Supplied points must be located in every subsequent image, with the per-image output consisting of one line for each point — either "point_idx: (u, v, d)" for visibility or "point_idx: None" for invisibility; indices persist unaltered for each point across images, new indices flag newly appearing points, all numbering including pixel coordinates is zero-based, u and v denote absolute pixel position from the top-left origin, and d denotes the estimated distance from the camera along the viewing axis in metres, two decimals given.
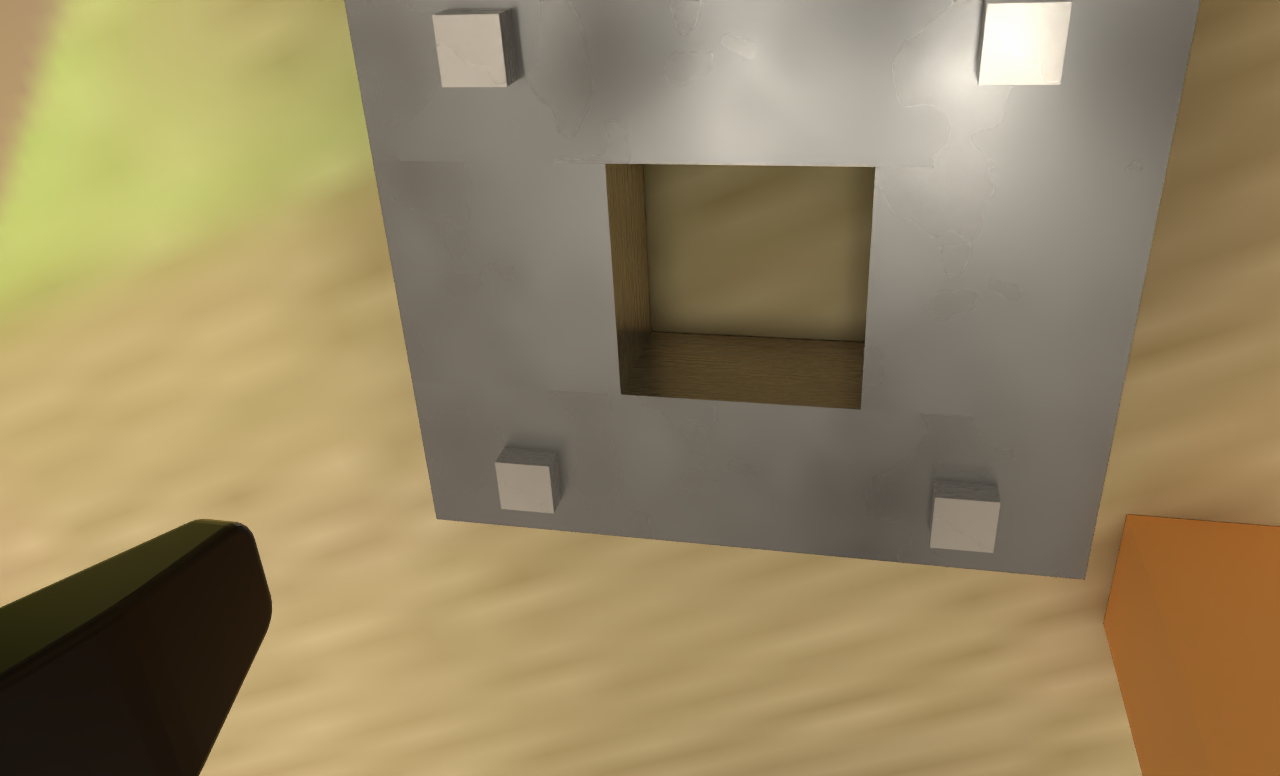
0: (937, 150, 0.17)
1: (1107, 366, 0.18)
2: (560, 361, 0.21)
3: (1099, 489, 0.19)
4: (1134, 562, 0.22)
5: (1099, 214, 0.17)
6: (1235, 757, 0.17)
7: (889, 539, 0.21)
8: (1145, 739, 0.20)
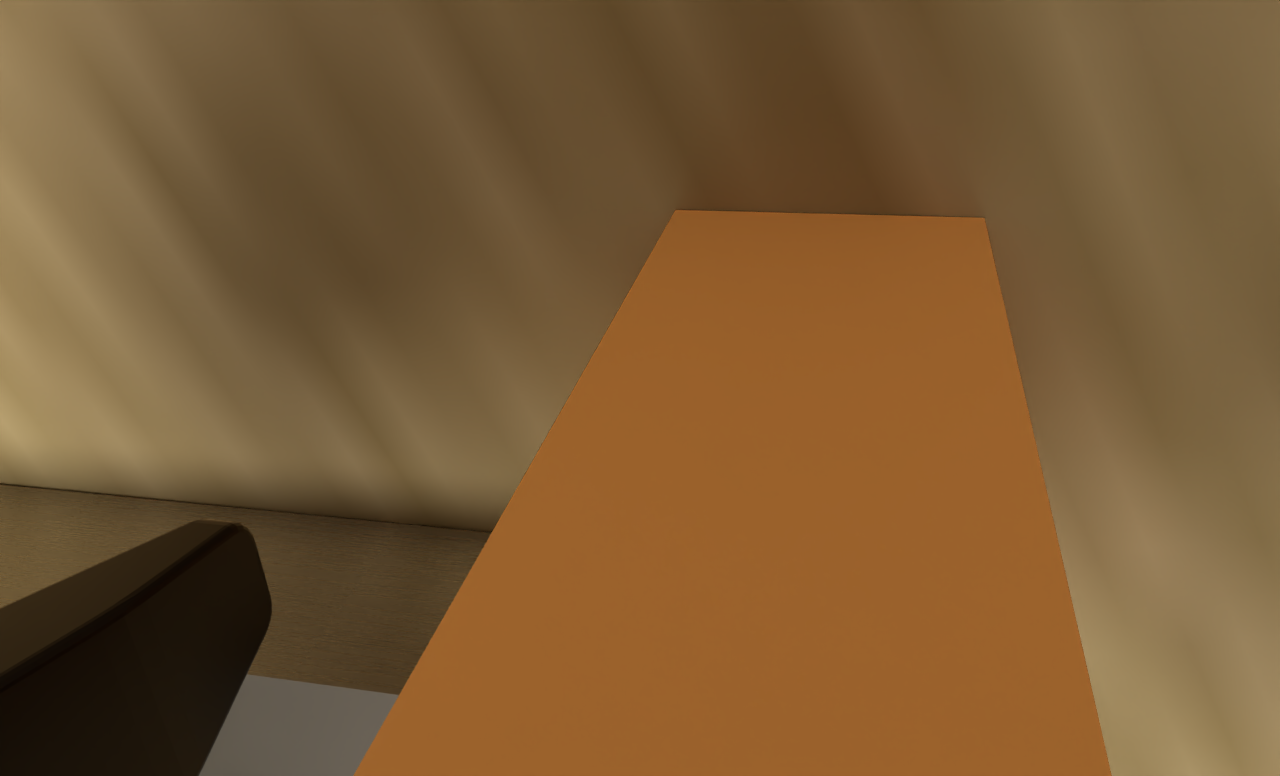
0: None
1: None
2: None
3: None
4: None
5: None
6: None
7: None
8: None
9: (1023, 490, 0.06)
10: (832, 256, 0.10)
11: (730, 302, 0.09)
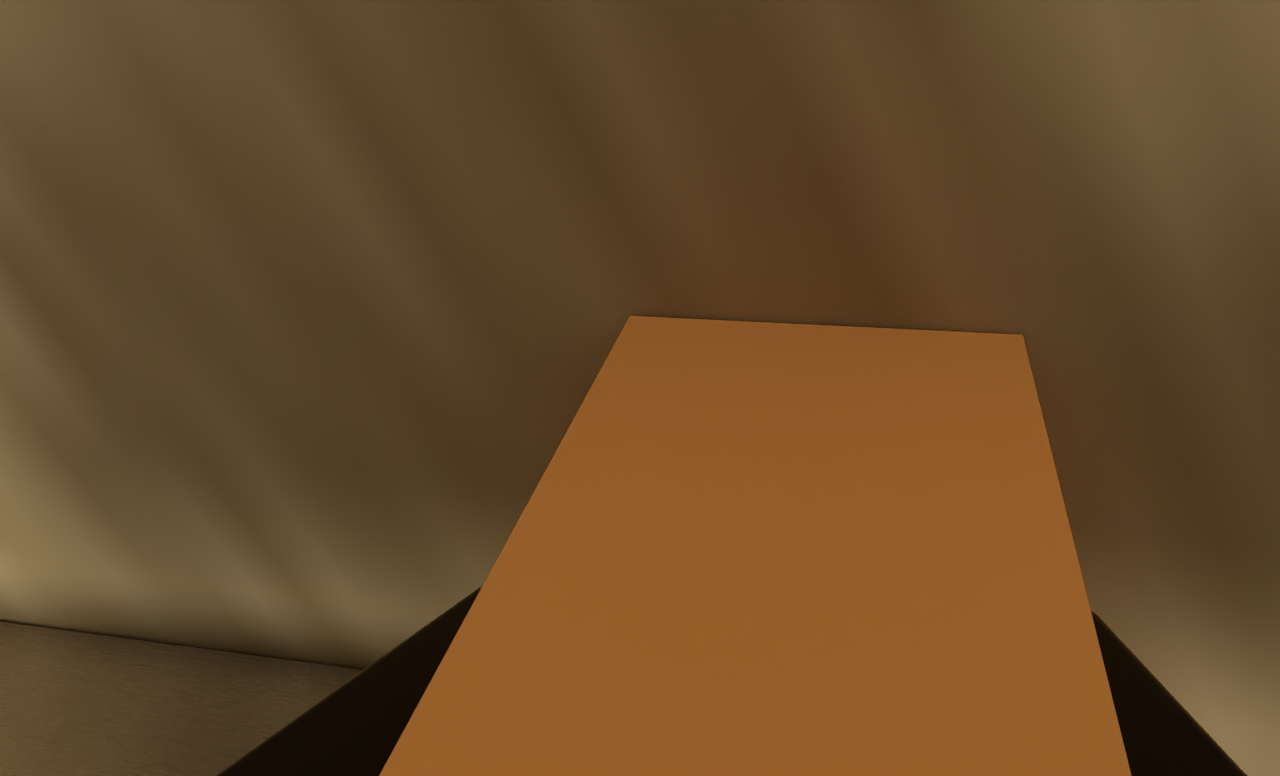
0: None
1: None
2: None
3: None
4: None
5: None
6: None
7: None
8: None
9: None
10: (826, 399, 0.07)
11: (688, 477, 0.06)
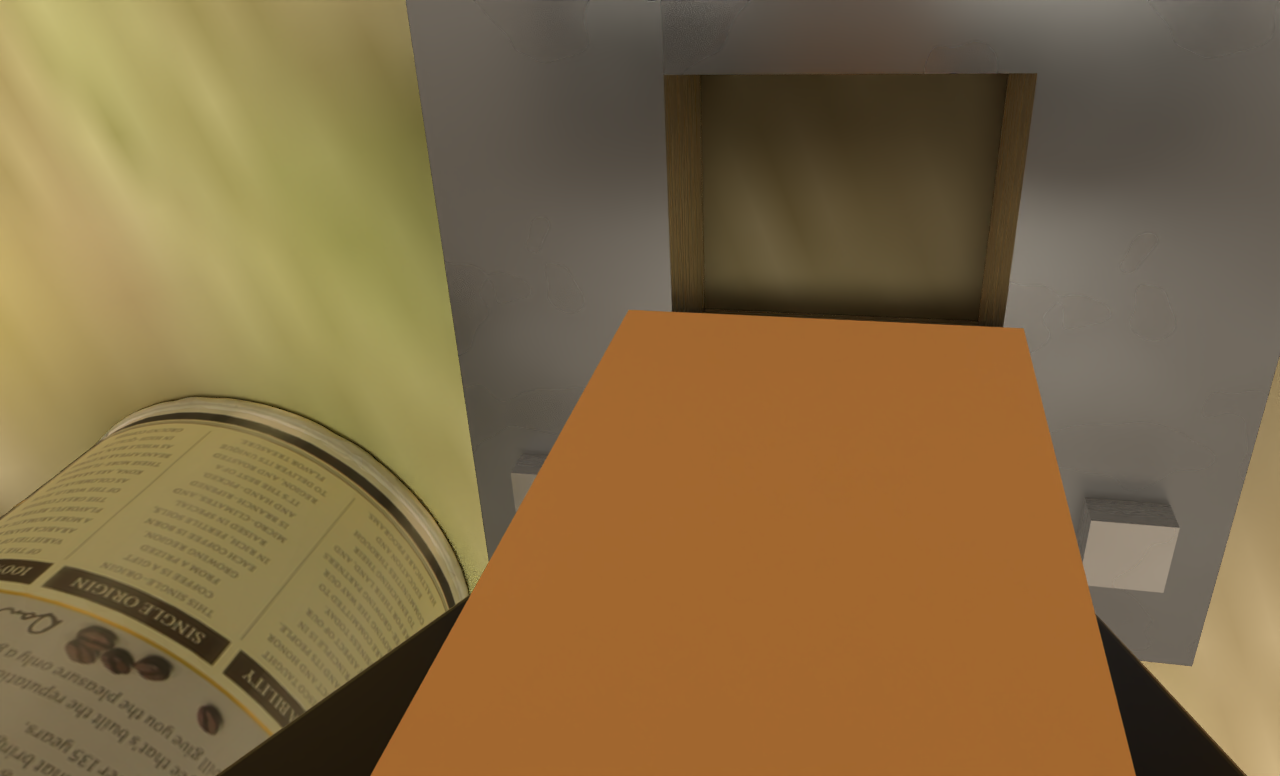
0: None
1: None
2: None
3: None
4: None
5: None
6: None
7: None
8: None
9: None
10: (826, 390, 0.07)
11: (685, 470, 0.06)
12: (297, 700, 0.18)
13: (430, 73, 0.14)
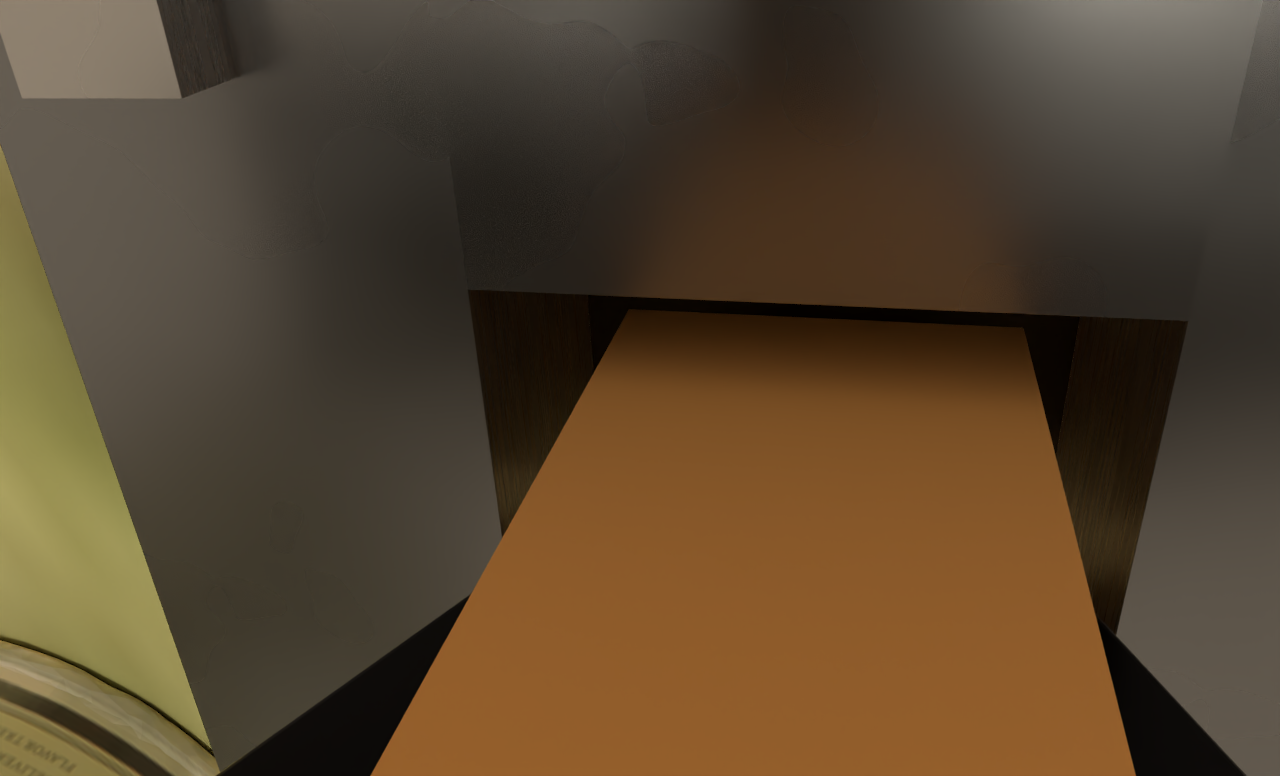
0: (408, 152, 0.07)
1: None
2: None
3: None
4: None
5: None
6: None
7: None
8: None
9: None
10: (825, 390, 0.07)
11: (685, 469, 0.06)
12: None
13: (66, 268, 0.08)
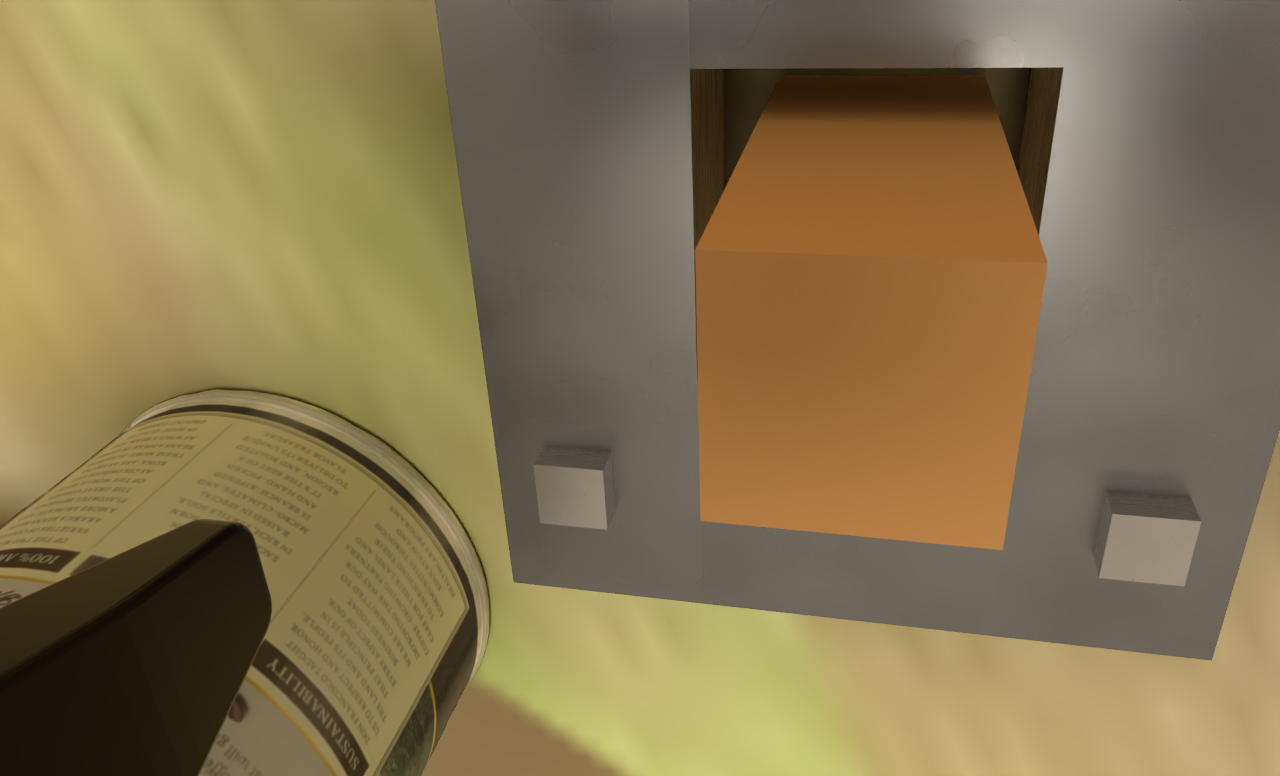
0: None
1: None
2: None
3: None
4: None
5: None
6: None
7: None
8: None
9: (1003, 165, 0.12)
10: (888, 93, 0.15)
11: (829, 110, 0.14)
12: (320, 689, 0.18)
13: (457, 67, 0.15)
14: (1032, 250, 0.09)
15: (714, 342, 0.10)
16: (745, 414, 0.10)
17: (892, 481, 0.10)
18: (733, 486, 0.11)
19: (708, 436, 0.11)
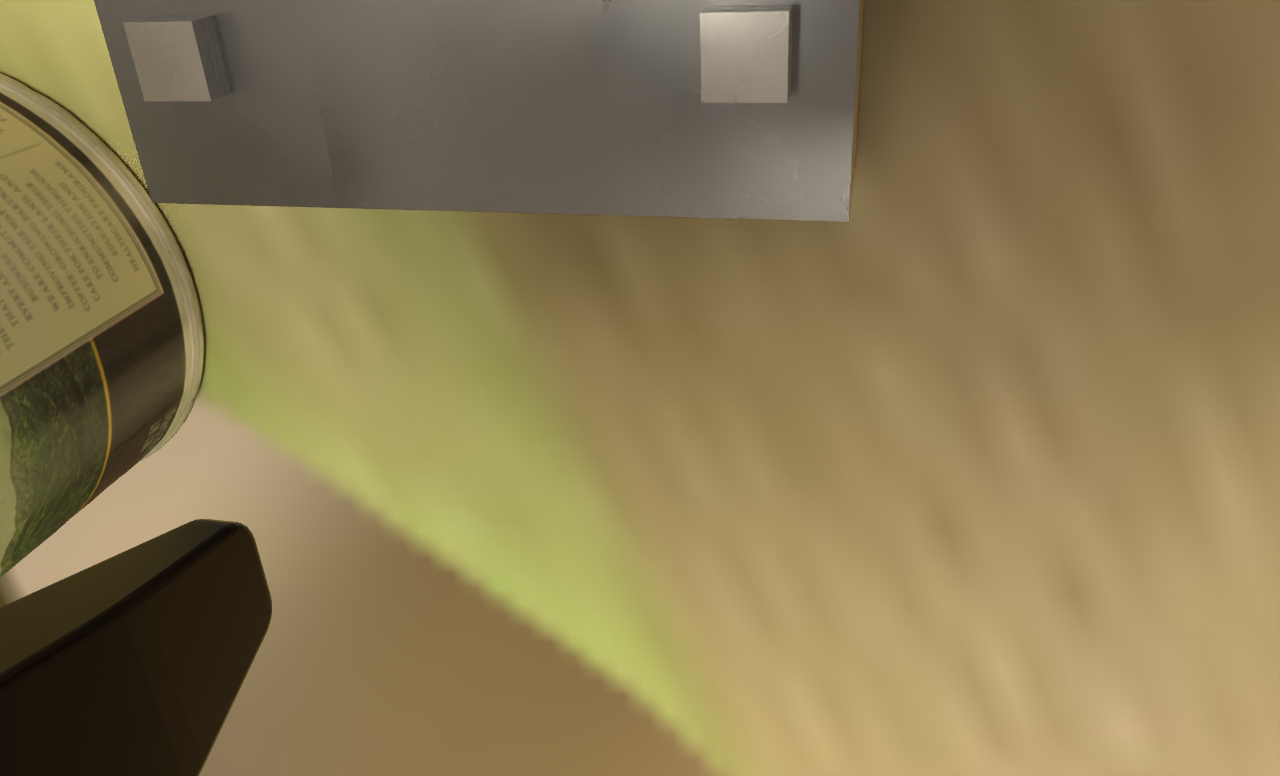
0: None
1: None
2: None
3: None
4: None
5: None
6: None
7: None
8: None
9: None
10: None
11: None
12: None
13: None
14: None
15: None
16: None
17: None
18: None
19: None
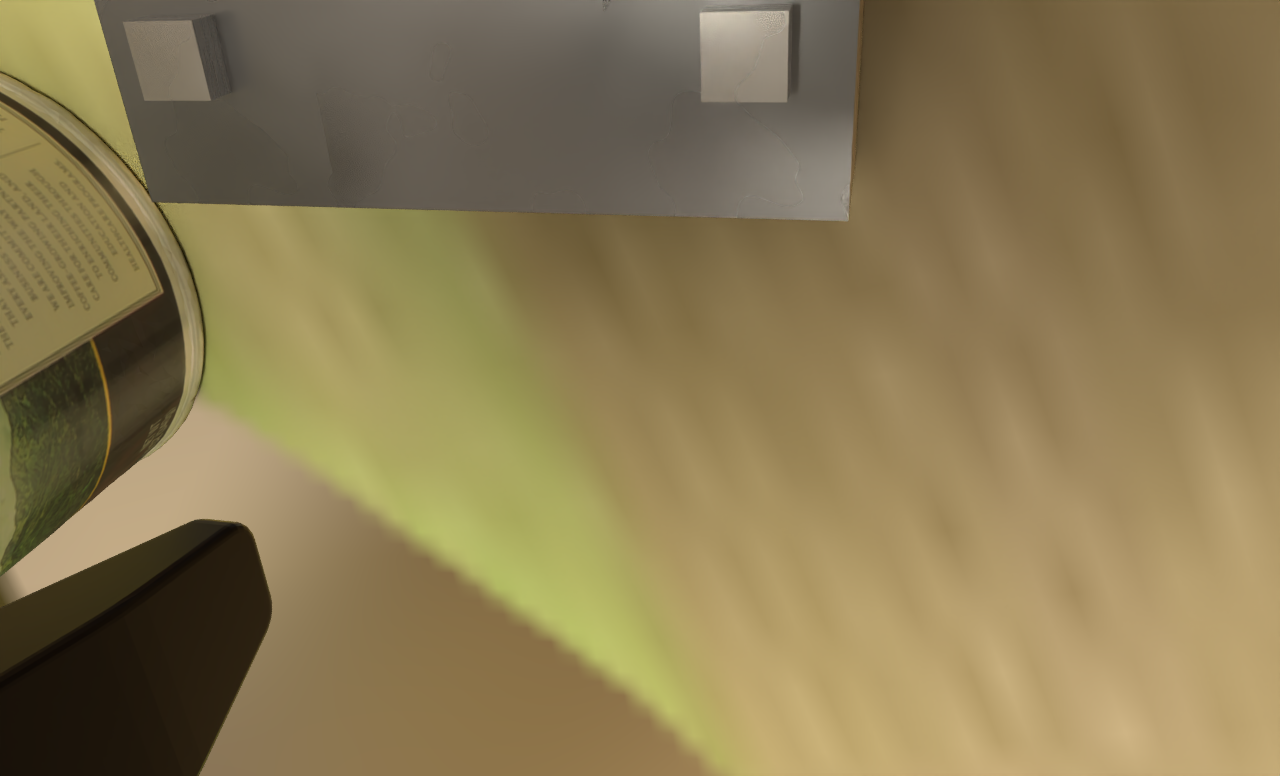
0: None
1: None
2: None
3: None
4: None
5: None
6: None
7: None
8: None
9: None
10: None
11: None
12: None
13: None
14: None
15: None
16: None
17: None
18: None
19: None
